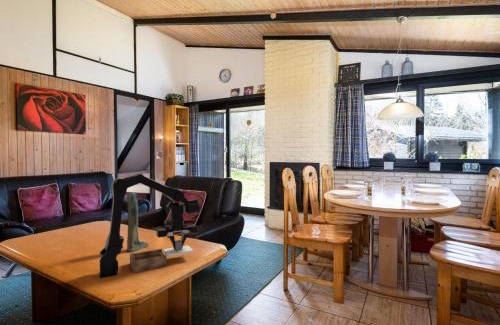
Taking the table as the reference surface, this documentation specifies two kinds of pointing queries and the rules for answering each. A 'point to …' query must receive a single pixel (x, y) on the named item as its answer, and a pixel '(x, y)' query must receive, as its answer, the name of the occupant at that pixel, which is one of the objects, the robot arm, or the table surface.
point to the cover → (178, 249)
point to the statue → (133, 225)
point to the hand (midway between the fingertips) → (178, 248)
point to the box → (147, 260)
